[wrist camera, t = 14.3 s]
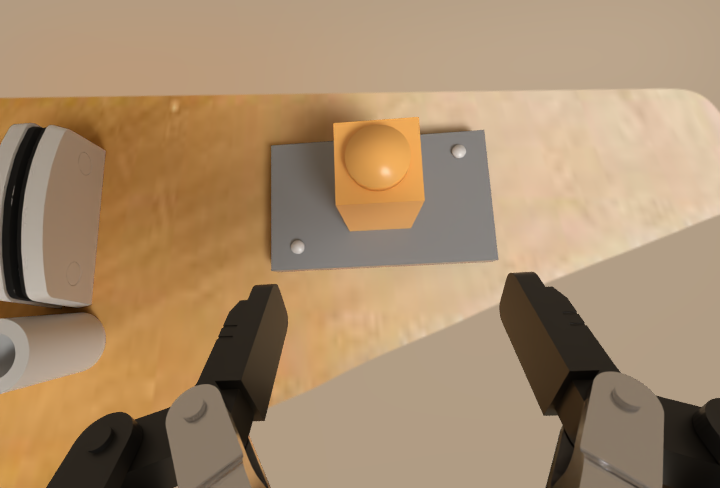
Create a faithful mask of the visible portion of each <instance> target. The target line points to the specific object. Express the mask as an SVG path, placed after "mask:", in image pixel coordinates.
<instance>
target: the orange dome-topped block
mask: <svg viewBox="0 0 720 488" xmlns="http://www.w3.org/2000/svg"><path fill="white" fill-rule="evenodd" d="M333 129H334V165H335V200H336V207H337V209H338V211H339V213H340V214H341V216H342V218H343V220H344V222H345V224H346V225H347V227H348V229H349V231H367V230H387V229H407V228H411V227H412V225H413V223H414V221H415V219H416V217H417V215H418V213H419V211H420V209H421V207H422V205H423V203H424V201H425V196H424V182H423V168H422V155H421V141H420V127H419V117H412V118H398V119H384V120H370V121H356V122H343V123H333Z"/></svg>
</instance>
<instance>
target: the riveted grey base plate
mask: <svg viewBox="0 0 720 488" xmlns="http://www.w3.org/2000/svg"><path fill="white" fill-rule="evenodd" d="M420 141H421V155H422V168H423V182H424V196H425V201H424V203H423V205H422V207H421V209H420V211H419V213H418V215H417V217H416V219H415V221H414V223H413V225H412V227H411V228H407V229H387V230H367V231H349V229H348V227H347V225H346V224H345V222H344V220H343V218H342V216H341V214H340V213H339V211H338V209H337V207H336V200H335V165H334V141H327V142H313V143H300V144H286V145H273V146H271V271H276V272H289V271H310V270H331V269H352V268H372V267H393V266H414V265H434V264H455V263H476V262H491V261H495V260H498V252H497V243H496V234H495V225H494V216H493V207H492V198H491V188H490V179H489V170H488V161H487V152H486V143H485V134H484V130H477V131H463V132H450V133H436V134H422V135H420Z"/></svg>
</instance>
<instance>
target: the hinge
mask: <svg viewBox="0 0 720 488" xmlns="http://www.w3.org/2000/svg"><path fill="white" fill-rule="evenodd" d="M105 153H106V151H105V150H104V149H102V148H100V147H99V146H97V145H95V144H94V143H92V142H90V141H89V140H87V139H85V138H84V137H82V136H80V135H79V134H77V133H75V132H74V131H72V130H70V129H66V128H63V127H59V126H55V125H49V126H48V127H47V128H42V127H40V126H39V125H37V124H35V123H25V124H14V125H12V126H11V127H10V128H9V130H8V132H7V133H6V135H5V137H4V139H3V141H2V143H1V145H0V301H8V302H15V303H22V304H30V305H34V306H43V307H52V308H60V309H62V306H69V307H76V308H80V307H85V306H89V305H92V294H93V283H94V272H95V262H96V251H97V240H98V229H99V218H100V207H101V196H102V186H103V175H104V164H105Z"/></svg>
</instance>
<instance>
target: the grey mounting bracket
mask: <svg viewBox="0 0 720 488" xmlns="http://www.w3.org/2000/svg"><path fill="white" fill-rule="evenodd" d="M105 343H106V335H105V330H104V327H103V325H102V323H101V322H100V321H99V319H98V318H96V317H95V316H93V315H91V314H89V313H84V312H80V313H67V314H54V315H41V316H28V317H15V318H2V319H0V394H2V393H5V392H9V391H13V390H16V389H20V388H24V387H27V386H31V385H35V384H38V383H42V382H46V381H49V380H53V379H56V378H60V377H64V376H67V375H71V374H75V373H78V372H82V371H85V370H87V369H89V368H90V367H92V366H93V365H94V364H95V363H96V362H97V361H98V360H99V358H100V357H101V355H102V353H103V351H104V348H105Z"/></svg>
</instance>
